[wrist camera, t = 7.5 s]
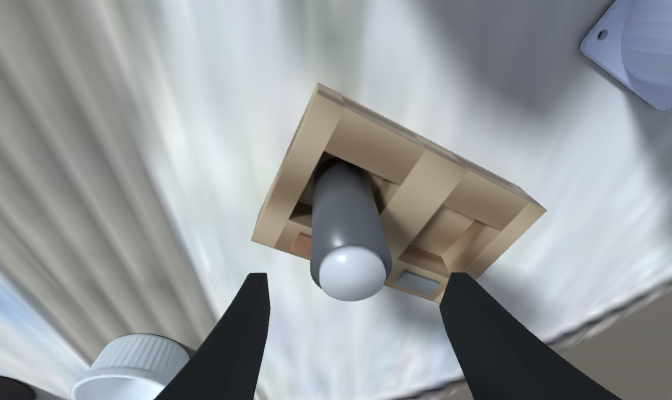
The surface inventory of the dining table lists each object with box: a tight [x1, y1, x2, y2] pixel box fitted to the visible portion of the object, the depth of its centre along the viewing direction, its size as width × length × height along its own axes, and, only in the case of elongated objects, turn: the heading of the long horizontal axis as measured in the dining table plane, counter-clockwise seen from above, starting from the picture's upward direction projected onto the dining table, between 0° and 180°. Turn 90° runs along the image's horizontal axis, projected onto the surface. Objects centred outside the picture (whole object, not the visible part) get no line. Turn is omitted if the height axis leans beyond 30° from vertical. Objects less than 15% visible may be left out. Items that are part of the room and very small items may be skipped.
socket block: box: [251, 83, 547, 303], centre depth 20 cm, size 10×16×3 cm, turn 63°
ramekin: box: [71, 334, 190, 400], centre depth 28 cm, size 9×9×4 cm
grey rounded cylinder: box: [310, 157, 392, 301], centre depth 16 cm, size 4×4×9 cm
